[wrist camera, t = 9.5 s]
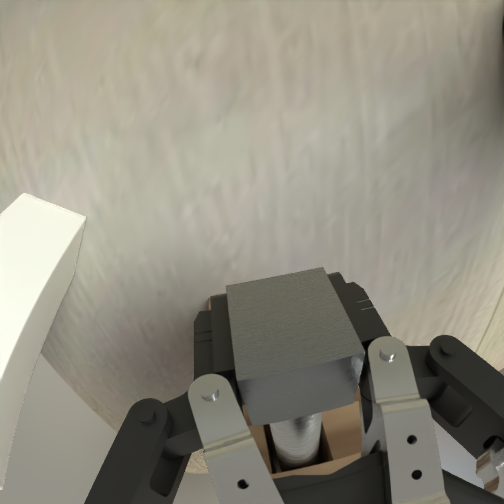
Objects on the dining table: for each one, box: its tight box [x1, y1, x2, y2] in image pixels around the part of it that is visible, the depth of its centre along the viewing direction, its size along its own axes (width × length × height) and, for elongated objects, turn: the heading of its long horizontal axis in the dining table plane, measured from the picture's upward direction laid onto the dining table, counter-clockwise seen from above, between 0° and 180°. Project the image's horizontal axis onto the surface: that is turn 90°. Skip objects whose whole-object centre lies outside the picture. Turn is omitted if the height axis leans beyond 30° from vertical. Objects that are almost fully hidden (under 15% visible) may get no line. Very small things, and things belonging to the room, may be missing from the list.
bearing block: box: [208, 298, 362, 479], centre depth 23 cm, size 12×9×18 cm
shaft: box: [226, 267, 365, 472], centre depth 17 cm, size 29×4×4 cm, turn 8°
